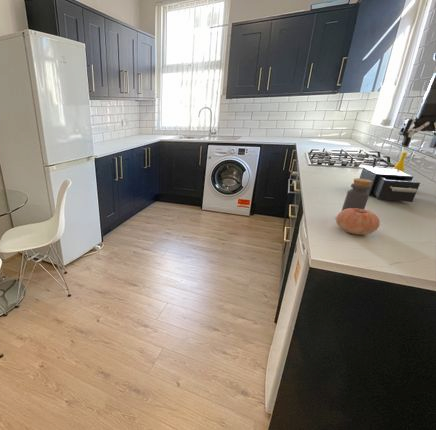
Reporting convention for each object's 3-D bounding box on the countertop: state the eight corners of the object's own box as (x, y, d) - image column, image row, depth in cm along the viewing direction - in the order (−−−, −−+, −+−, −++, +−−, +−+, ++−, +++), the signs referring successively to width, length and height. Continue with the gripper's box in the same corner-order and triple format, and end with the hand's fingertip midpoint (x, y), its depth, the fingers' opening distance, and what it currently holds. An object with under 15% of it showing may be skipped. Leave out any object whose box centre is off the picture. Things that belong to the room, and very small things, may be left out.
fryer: (404, 199, 122) (413, 176, 118) (368, 195, 126) (376, 173, 122) (388, 189, 134) (396, 169, 130) (356, 187, 138) (363, 167, 135)
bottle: (335, 216, 103) (348, 177, 98) (353, 218, 102) (367, 178, 97) (344, 223, 98) (358, 181, 93) (363, 224, 97) (378, 182, 91)
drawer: (417, 205, 112) (426, 185, 108) (382, 202, 116) (389, 182, 112) (396, 192, 127) (403, 175, 124) (365, 190, 131) (371, 172, 128)
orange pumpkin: (383, 240, 86) (393, 216, 83) (344, 238, 88) (352, 214, 85) (361, 226, 96) (369, 204, 93) (326, 224, 97) (333, 202, 94)
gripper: (419, 102, 101) (402, 148, 107) (470, 102, 97) (449, 149, 103) (405, 102, 107) (390, 145, 114) (452, 102, 104) (434, 146, 110)
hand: (418, 147), depth 108 cm, fingers open, 8 cm apart
